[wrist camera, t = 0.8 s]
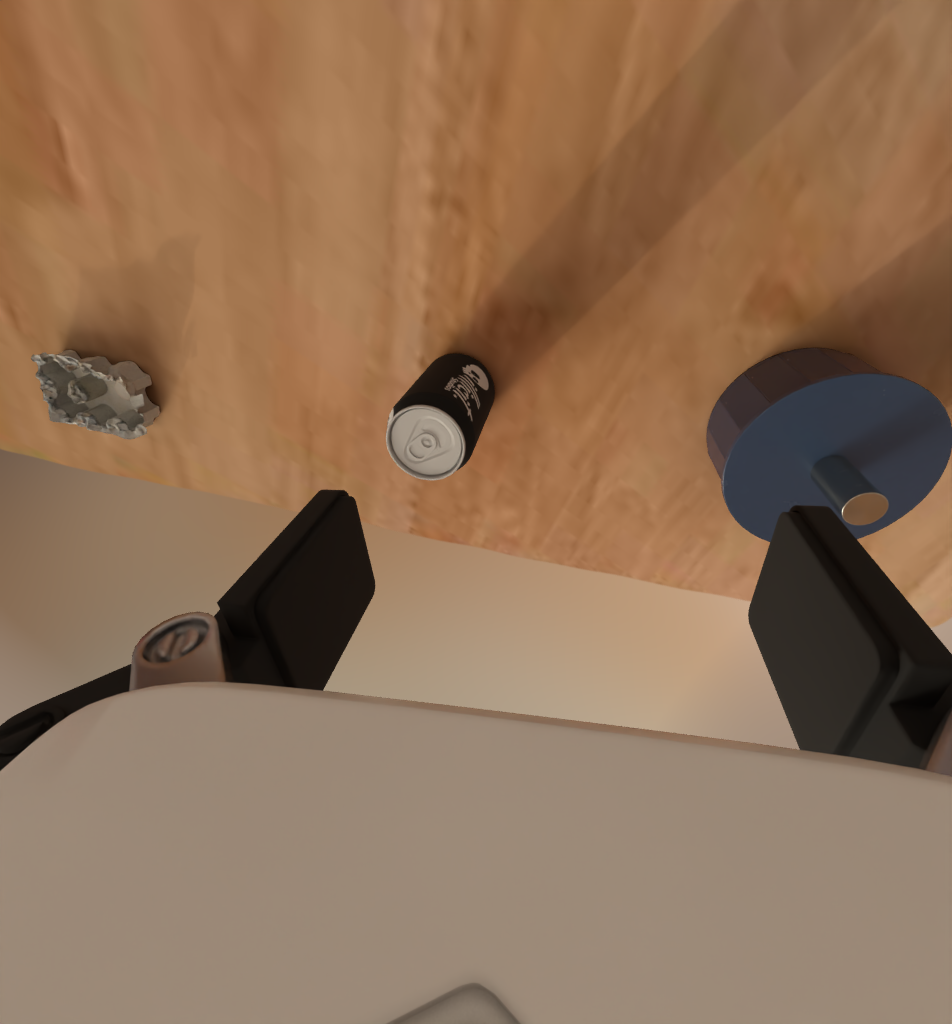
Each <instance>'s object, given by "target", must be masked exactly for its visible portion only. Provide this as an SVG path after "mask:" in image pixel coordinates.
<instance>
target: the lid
mask: <svg viewBox="0 0 952 1024" xmlns="http://www.w3.org/2000/svg"><path fill="white" fill-rule="evenodd" d="M951 449H952V426H951V422H950V418H949V416H948V414H947V412H946V409H945V408H944V406H943V405H942V404H941V402H940V401H939V400H938V399H937V398H936V397H935V396H934V395H933V394H932V393H931V392H930V391H928V390H927V389H925V388H924V387H922V386H920V385H919V384H917V383H915V382H913V381H911V380H908V379H906V378H903V377H900V376H896V375H892V374H888V373H880V372H850V373H843V374H836V375H832V376H828V377H824V378H820V379H817V380H814V381H811V382H808V383H806V384H803V385H801V386H799V387H797V388H794V389H792V390H790V391H789V392H787V393H785V394H783V395H782V396H780V397H778V398H776V399H775V400H774V401H772V402H771V403H769V404H768V405H766V406H765V407H764V408H763V409H761V410H760V411H759V412H758V413H757V414H756V415H755V416H753V417H752V418H751V420H750V421H749V422H748V423H747V424H746V425H745V426H744V427H743V428H742V430H741V431H740V432H739V434H738V435H737V436H736V438H735V439H734V441H733V443H732V445H731V447H730V448H729V450H728V453H727V455H726V458H725V461H724V465H723V469H722V477H721V485H722V493H723V497H724V500H725V503H726V505H727V507H728V509H729V511H730V513H731V514H732V516H733V517H734V518H735V520H736V521H737V522H738V523H739V524H740V525H741V526H742V527H743V528H745V529H746V530H747V531H749V532H750V533H752V534H753V535H755V536H757V537H759V538H761V539H764V540H766V541H769V542H771V539H772V536H773V533H774V530H775V527H776V524H777V521H778V518H779V516H780V514H781V513H782V512H789V510H790V509H791V508H792V507H793V506H795V505H805V506H827V507H829V508H831V509H832V510H833V512H834V513H835V514H836V515H837V517H838V518H839V519H840V520H841V521H842V523H843V524H844V525H845V526H846V527H847V529H848V530H849V531H850V532H851V533H852V535H853V536H854V537H855V538H856V539H859V538H862V537H864V536H867V535H869V534H872V533H874V532H876V531H879V530H881V529H883V528H885V527H887V526H888V525H890V524H892V523H893V522H895V521H897V520H898V519H900V518H901V517H903V516H904V515H905V514H907V513H908V512H909V511H911V510H912V509H913V508H914V507H915V506H916V505H918V504H919V503H920V502H921V501H922V500H923V499H924V498H925V497H926V496H927V495H928V493H929V492H930V491H931V490H932V489H933V487H934V486H935V485H936V483H937V482H938V480H939V479H940V477H941V475H942V474H943V472H944V470H945V468H946V466H947V463H948V460H949V457H950V454H951Z"/></svg>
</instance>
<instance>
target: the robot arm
mask: <svg viewBox="0 0 952 1024" xmlns="http://www.w3.org/2000/svg"><path fill="white" fill-rule="evenodd" d="M374 591H375V579H374V576H373V571H372V567H371V563H370V559H369V555H368V550H367V546H366V542H365V538H364V534H363V530H362V525H361V521H360V517H359V513H358V509H357V505H356V501H355V499H354V498H353V497H352V496H349V495H348V493H347V492H346V491H344V490H320V491H319V492H318V493H317V494H316V495H315V496H314V497H313V498H312V500H311V501H310V502H309V503H308V504H307V505H306V506H305V507H304V508H303V509H302V510H301V512H300V513H299V514H298V515H297V516H296V517H295V518H294V519H293V520H292V521H291V522H290V524H289V525H288V526H287V527H286V528H285V529H284V530H283V531H282V532H281V533H280V534H279V536H278V537H277V538H276V539H275V540H274V541H273V542H272V543H271V544H270V545H269V547H268V548H267V549H266V550H265V551H264V552H263V553H262V554H261V555H260V556H259V558H258V559H257V560H256V561H255V562H254V563H253V564H252V565H251V566H250V567H249V568H248V569H247V571H246V572H245V573H244V574H243V575H242V576H241V577H240V578H239V579H238V580H237V582H236V583H235V584H234V585H233V586H232V587H231V588H230V589H229V590H228V591H227V592H226V593H225V595H224V596H223V597H222V598H221V599H220V600H219V601H218V602H217V603H218V605H219V607H220V610H219V611H218V612H217V614H216V615H215V616H214V617H213V616H212V615H210V614H209V613H204V612H192V613H191V612H190V613H185V614H182V615H178V616H175V617H172V618H170V619H168V620H166V621H164V622H162V623H160V624H159V625H157V626H156V627H154V628H152V629H151V630H150V631H149V632H148V633H147V634H145V636H143V637H142V638H141V639H140V641H139V642H138V644H137V645H136V646H135V649H134V652H133V655H132V664H130V665H128V666H126V667H123V668H121V669H118V670H116V671H114V672H111V673H109V674H107V675H104V676H102V677H100V678H97V679H95V680H93V681H90V682H88V683H86V684H83V685H81V686H79V687H77V688H74V689H72V690H70V691H67V692H65V693H62V694H60V695H58V696H56V697H53V698H51V699H49V700H46V701H44V702H42V703H39V704H37V705H35V706H32V707H30V708H29V709H27V710H25V711H23V712H21V713H19V714H17V715H15V716H13V717H12V718H10V719H9V720H7V721H6V722H5V723H3V724H2V725H1V726H0V1024H952V654H951V653H950V652H949V651H948V649H947V648H946V647H945V646H944V645H943V643H942V642H941V641H940V640H939V639H938V638H937V636H936V635H935V634H934V633H933V631H932V630H931V629H930V628H929V626H928V625H927V624H926V623H925V622H924V620H923V619H922V618H921V617H920V616H919V614H918V613H917V612H916V611H915V610H914V608H913V607H912V606H911V605H910V603H909V602H908V601H907V600H906V599H905V597H904V596H903V595H902V594H901V593H900V591H899V590H898V589H897V588H896V587H895V585H894V584H893V583H892V582H891V581H890V579H889V578H888V577H887V576H886V574H885V573H884V572H883V571H882V570H881V568H880V567H879V566H878V565H877V564H876V562H875V561H874V560H873V559H872V558H871V556H870V555H869V554H868V553H867V552H866V550H865V549H864V548H863V547H862V545H861V544H860V543H859V542H858V541H857V539H856V538H855V537H854V536H853V535H852V533H851V532H850V531H849V530H848V529H847V527H846V526H845V525H844V524H843V523H842V521H841V520H840V519H839V518H838V517H837V515H836V514H835V513H834V512H833V510H832V509H831V508H829V507H827V506H805V505H795V506H793V507H792V508H791V509H790V510H789V512H782V513H781V514H780V516H779V518H778V521H777V524H776V527H775V530H774V533H773V536H772V539H771V542H770V545H769V548H768V552H767V555H766V558H765V561H764V564H763V567H762V570H761V573H760V576H759V579H758V582H757V586H756V589H755V592H754V595H753V598H752V601H751V604H750V607H749V614H748V616H749V624H750V627H751V629H752V632H753V634H754V637H755V639H756V642H757V644H758V647H759V649H760V652H761V654H762V657H763V659H764V662H765V664H766V667H767V669H768V672H769V674H770V676H771V679H772V681H773V684H774V686H775V688H776V691H777V694H778V696H779V699H780V701H781V703H782V706H783V709H784V711H785V714H786V716H787V718H788V721H789V724H790V726H791V728H792V731H793V733H794V736H795V738H796V741H797V743H798V746H799V748H800V750H797V749H790V748H783V747H776V746H769V745H762V744H755V743H748V742H740V741H732V740H724V739H716V738H708V737H700V736H693V735H684V734H677V733H669V732H661V731H653V730H645V729H638V728H629V727H622V726H614V725H606V724H598V723H590V722H581V721H574V720H565V719H557V718H548V717H540V716H532V715H525V714H516V713H507V712H500V711H492V710H483V709H474V708H467V707H458V706H450V705H442V704H433V703H424V702H416V701H407V700H398V699H390V698H382V697H372V696H364V695H356V694H347V693H338V692H330V691H323V689H324V687H325V686H326V684H327V682H328V680H329V678H330V676H331V674H332V672H333V671H334V669H335V667H336V665H337V663H338V661H339V659H340V657H341V655H342V653H343V652H344V650H345V648H346V646H347V644H348V642H349V640H350V638H351V637H352V634H353V633H354V631H355V629H356V627H357V625H358V623H359V622H360V620H361V618H362V616H363V614H364V612H365V610H366V608H367V606H368V605H369V603H370V601H371V599H372V597H373V595H374Z"/></svg>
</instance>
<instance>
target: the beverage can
mask: <svg viewBox="0 0 952 1024" xmlns="http://www.w3.org/2000/svg"><path fill="white" fill-rule="evenodd" d="M494 396H495V389H494V383H493V380H492V377H491V375H490V374H489V372H488V370H487V369H486V368H485V367H484V366H483V365H482V364H481V363H480V362H479V361H478V360H476V359H474V358H472V357H470V356H468V355H464V354H448V355H444V356H442V357H440V358H438V359H436V360H435V361H434V362H433V363H432V364H431V365H430V366H429V367H428V368H427V369H426V371H425V372H424V373H423V374H422V375H421V376H420V377H419V379H418V380H417V381H416V382H415V383H414V384H413V385H412V387H411V388H410V389H409V390H408V391H407V392H406V393H405V395H404V396H403V397H402V398H401V399H400V400H399V401H398V403H397V404H396V405H395V406H394V407H393V409H392V411H391V413H390V415H389V419H388V425H387V432H386V443H387V448H388V451H389V453H390V455H391V457H392V459H393V460H394V462H395V463H396V464H397V465H398V466H399V467H400V468H401V469H402V470H404V471H405V472H406V473H408V474H410V475H412V476H414V477H416V478H419V479H424V480H439V479H443V478H445V477H448V476H449V475H451V474H452V473H454V472H455V471H457V470H458V469H460V468H461V467H463V466H464V465H465V464H466V463H467V461H468V460H469V459H470V457H471V455H472V453H473V450H474V448H475V446H476V443H477V441H478V438H479V436H480V434H481V431H482V429H483V426H484V424H485V421H486V419H487V417H488V414H489V412H490V409H491V407H492V405H493V401H494Z"/></svg>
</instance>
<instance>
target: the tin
mask: <svg viewBox="0 0 952 1024" xmlns="http://www.w3.org/2000/svg"><path fill="white" fill-rule="evenodd" d="M850 372H880V371H879V370H877V369H875V368H874V367H872V366H870V365H869V364H867V363H865V362H864V361H862V360H860V359H858V358H857V357H855V356H853V355H852V354H849V353H843V352H841V351H836V350H832V349H825V348H804V349H797V350H792V351H788V352H784V353H781V354H778V355H775V356H773V357H770V358H768V359H766V360H764V361H762V362H760V363H758V364H756V365H755V366H753V367H751V368H750V369H748V370H747V371H746V372H744V373H743V374H742V375H740V376H739V377H738V378H737V379H736V380H735V381H734V382H733V383H731V384H730V386H729V387H728V388H727V389H726V390H725V391H724V393H723V394H722V395H721V397H720V398H719V400H718V401H717V403H716V405H715V407H714V409H713V411H712V413H711V416H710V419H709V422H708V427H707V447H708V454H709V456H710V458H711V460H712V462H713V464H714V466H715V468H716V470H717V472H718V474H719V476H720V478H721V477H722V469H723V465H724V461H725V458H726V455H727V453H728V450H729V448H730V447H731V445H732V443H733V441H734V439H735V438H736V436H737V435H738V434H739V432H740V431H741V430H742V428H743V427H744V426H745V425H746V424H747V423H748V422H749V421H750V420H751V418H752V417H753V416H755V415H756V414H757V413H758V412H759V411H760V410H761V409H763V408H764V407H765V406H766V405H768V404H769V403H771V402H772V401H774V400H775V399H776V398H778V397H780V396H782V395H783V394H785V393H787V392H789V391H790V390H792V389H794V388H797V387H799V386H801V385H803V384H806V383H808V382H811V381H814V380H817V379H820V378H824V377H828V376H832V375H836V374H843V373H850ZM880 373H882V372H880Z"/></svg>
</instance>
